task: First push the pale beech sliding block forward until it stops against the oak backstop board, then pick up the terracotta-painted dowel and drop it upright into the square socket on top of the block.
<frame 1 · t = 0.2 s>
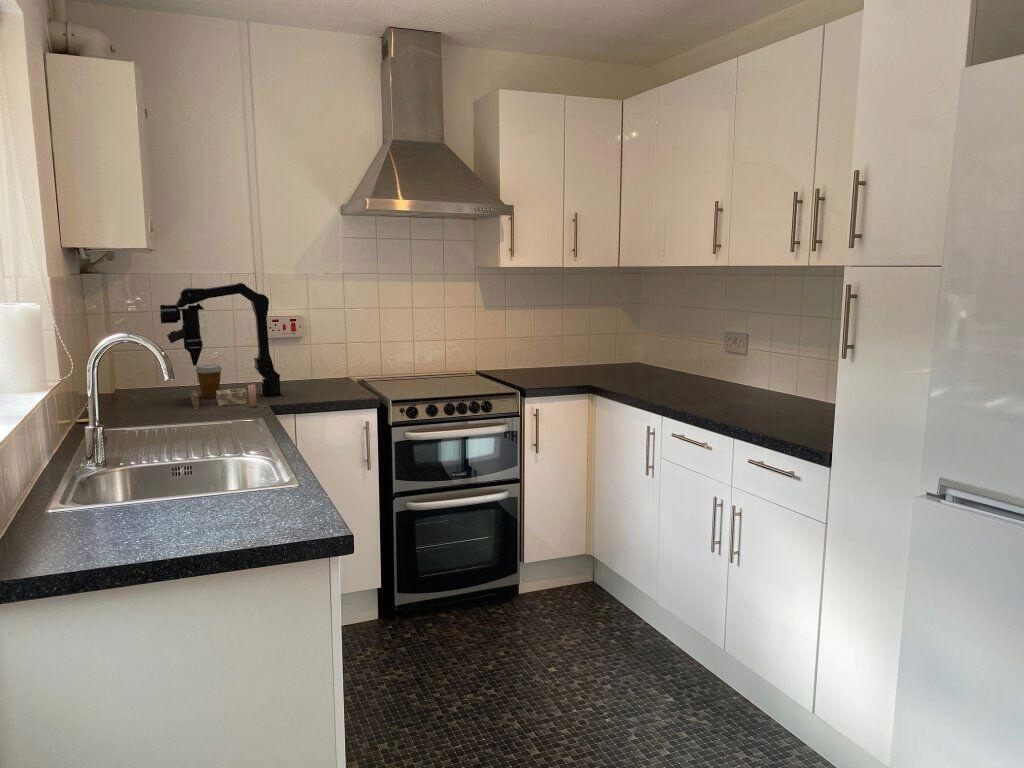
hand: (194, 363, 284), 14 cm above the countertop, tool pointing down, fingers open, 9 cm apart
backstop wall: (195, 406, 278), on the countertop
dowel: (252, 406, 277), on the countertop
block: (231, 397, 283), point 2 cm above the countertop, slide at 0.0 cm
disposable coffee cup: (210, 396, 296), on the countertop
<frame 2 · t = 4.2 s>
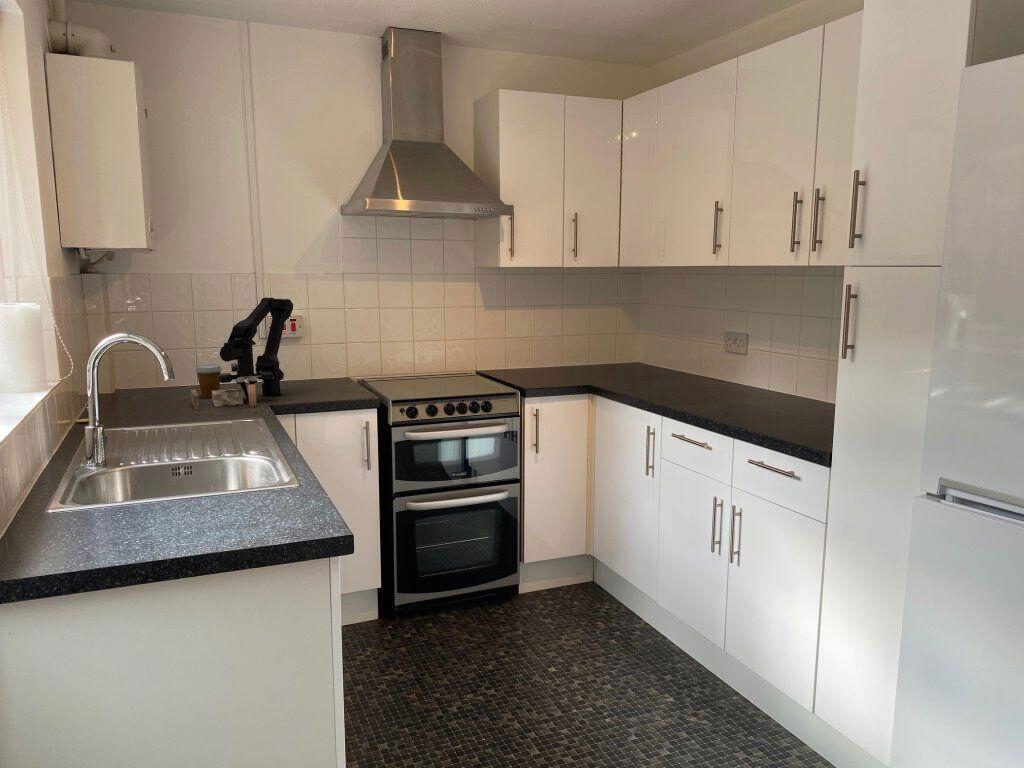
hand: (247, 398, 286), 1 cm above the countertop, tool pointing down, fingers closed
block: (227, 397, 282), point 2 cm above the countertop, slide at 1.5 cm, touching gripper
everything else where it was.
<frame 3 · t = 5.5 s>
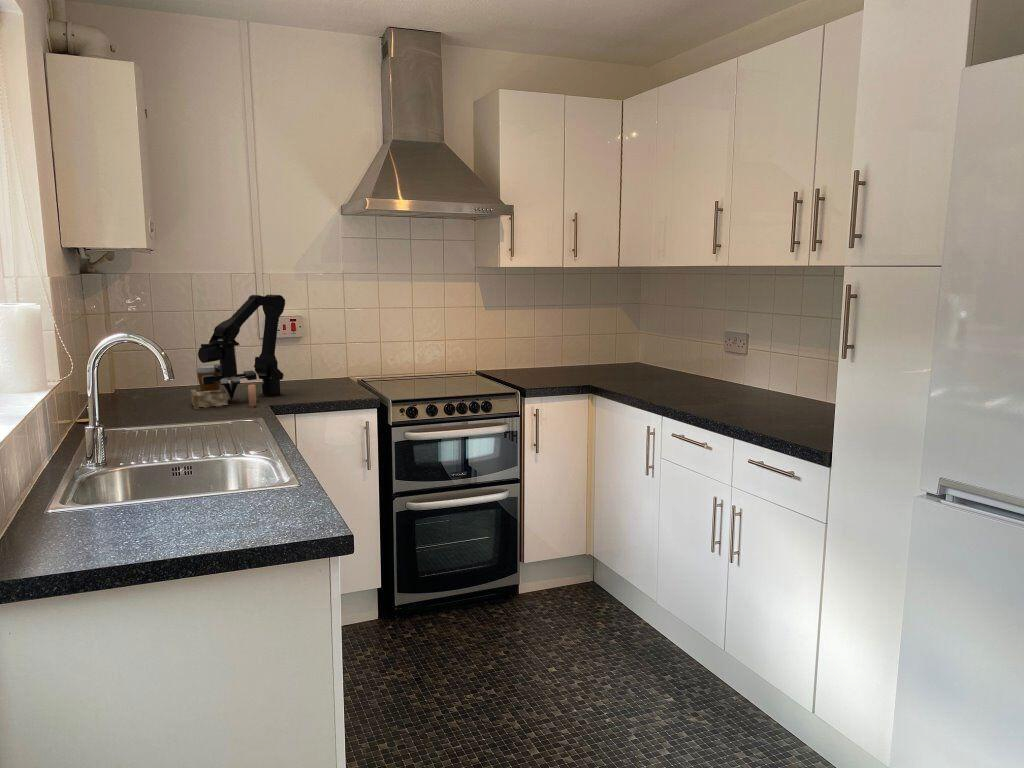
hand: (231, 400, 283), 1 cm above the countertop, tool pointing down, fingers closed
block: (211, 398, 280), point 2 cm above the countertop, slide at 7.0 cm, touching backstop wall, gripper
everything else where it was.
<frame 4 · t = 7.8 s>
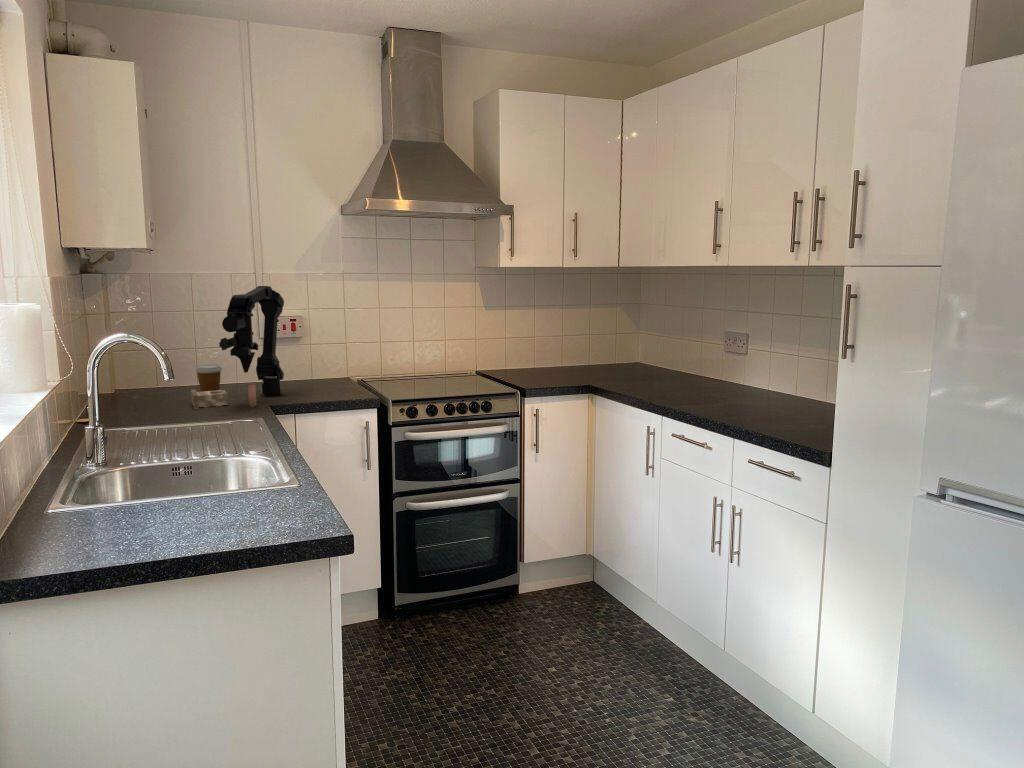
hand: (246, 372, 277), 12 cm above the countertop, tool pointing down, fingers closed
block: (211, 398, 280), point 2 cm above the countertop, slide at 7.0 cm
everything else where it was.
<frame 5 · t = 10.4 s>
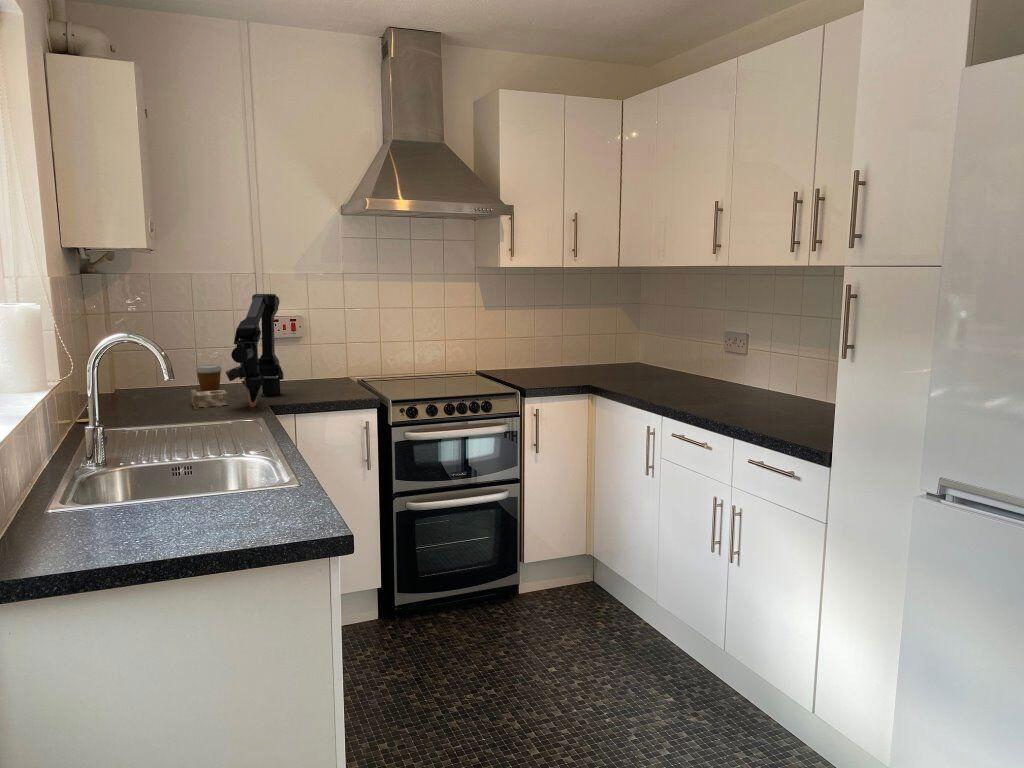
hand: (252, 401, 277), 2 cm above the countertop, tool pointing down, fingers closed on dowel, 3 cm apart
dowel: (252, 406, 277), on the countertop, touching gripper
everything else where it was.
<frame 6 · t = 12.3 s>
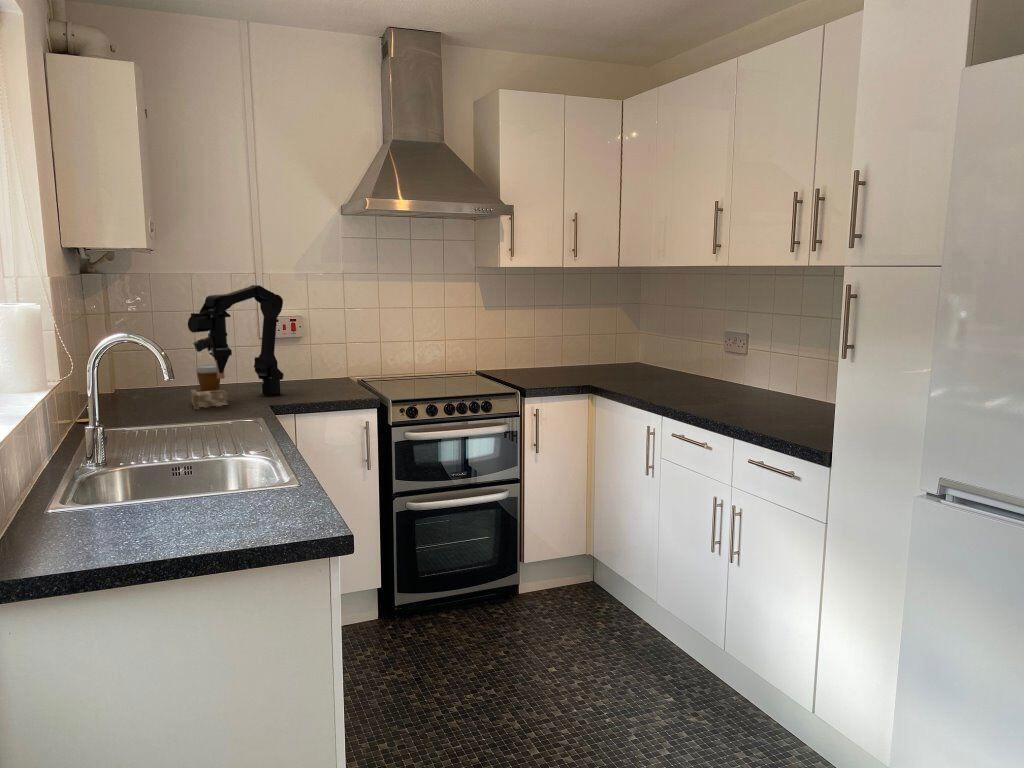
hand: (220, 372, 278), 12 cm above the countertop, tool pointing down, fingers closed on dowel, 3 cm apart
dowel: (220, 378, 278), point 10 cm above the countertop, touching gripper
everything else where it was.
when the fingers open (6 cm above the countertop, at t = 14.2 s): dowel drops 2 cm, resting on block.
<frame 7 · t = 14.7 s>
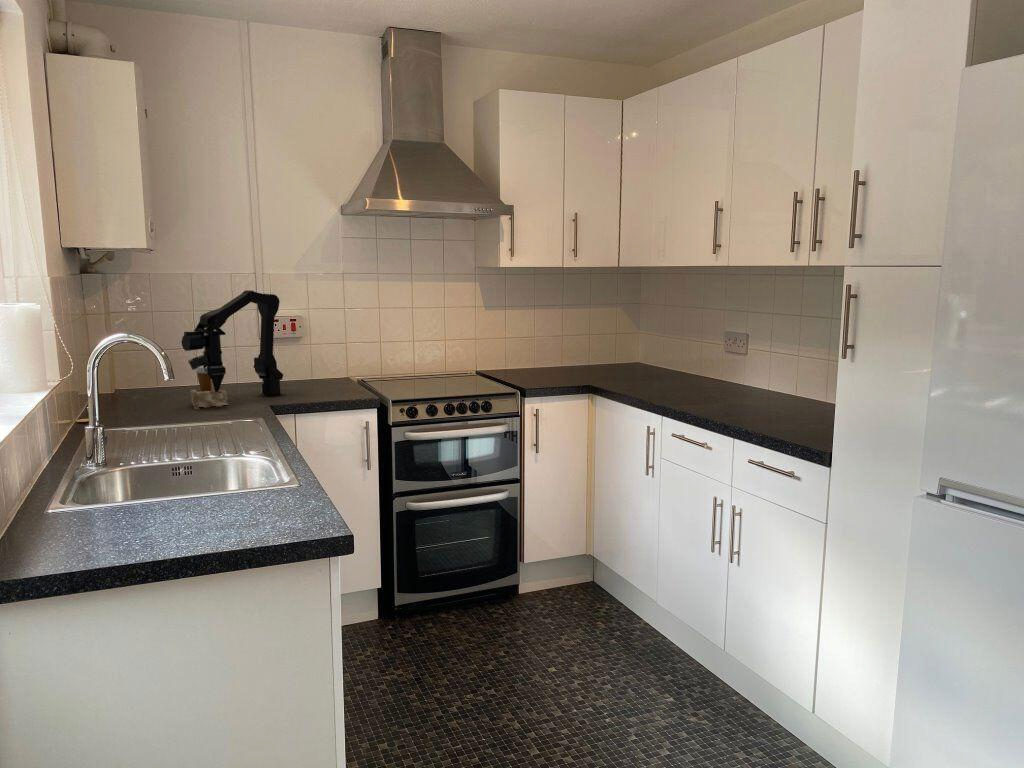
hand: (215, 389, 280), 5 cm above the countertop, tool pointing down, fingers open, 8 cm apart
dowel: (216, 400, 281), point 2 cm above the countertop, touching block
block: (211, 398, 280), point 2 cm above the countertop, slide at 7.0 cm, touching dowel
everything else where it was.
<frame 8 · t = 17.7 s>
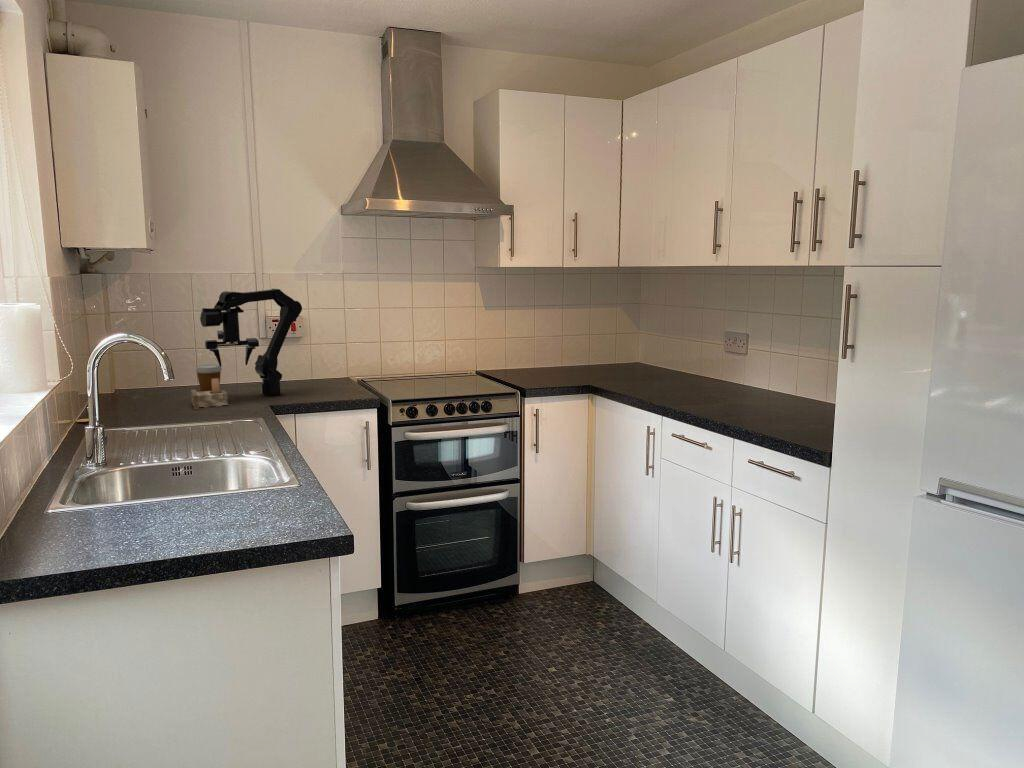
hand: (233, 366, 287), 13 cm above the countertop, tool pointing down, fingers open, 9 cm apart
nothing on the countertop moved.
at the end: block slide at 7.0 cm; dowel 0.1 cm from the target spot on the block, point 1.5 cm above the block's base; dowel tilted 2° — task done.
